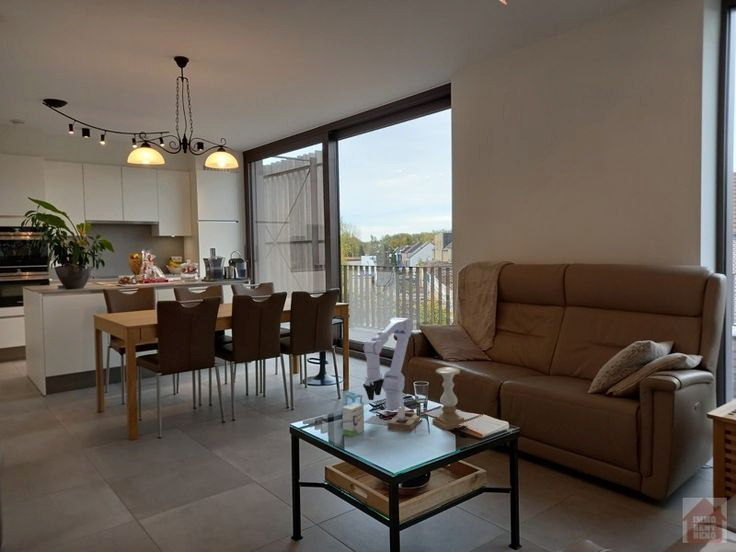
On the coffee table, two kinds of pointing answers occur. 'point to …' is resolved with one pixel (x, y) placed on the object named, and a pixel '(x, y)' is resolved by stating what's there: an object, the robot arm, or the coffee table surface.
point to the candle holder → (448, 401)
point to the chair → (352, 396)
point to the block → (409, 424)
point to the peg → (401, 414)
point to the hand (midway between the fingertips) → (374, 397)
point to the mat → (376, 420)
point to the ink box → (353, 419)
